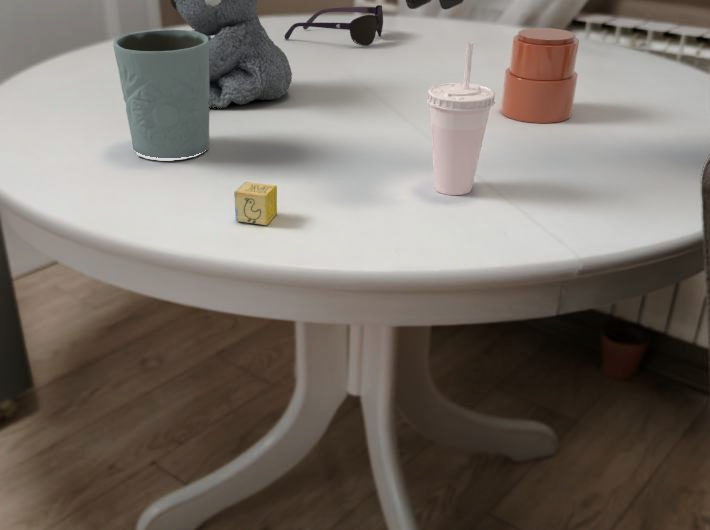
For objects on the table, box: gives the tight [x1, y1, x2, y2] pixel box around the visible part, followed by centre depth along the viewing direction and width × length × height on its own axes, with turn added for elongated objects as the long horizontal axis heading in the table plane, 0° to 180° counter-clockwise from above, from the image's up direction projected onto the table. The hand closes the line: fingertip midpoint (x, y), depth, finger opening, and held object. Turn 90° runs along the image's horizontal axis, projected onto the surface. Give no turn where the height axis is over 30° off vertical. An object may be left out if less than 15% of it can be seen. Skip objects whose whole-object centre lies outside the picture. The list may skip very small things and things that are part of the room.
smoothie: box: [426, 41, 496, 196], centre depth 78 cm, size 6×6×14 cm
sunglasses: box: [284, 4, 384, 47], centre depth 138 cm, size 14×16×5 cm
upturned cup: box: [500, 27, 580, 124], centre depth 100 cm, size 9×9×10 cm
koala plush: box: [169, 0, 293, 109], centre depth 105 cm, size 17×18×20 cm
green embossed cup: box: [112, 28, 210, 158], centre depth 88 cm, size 10×10×12 cm
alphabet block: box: [233, 181, 278, 226], centre depth 74 cm, size 3×3×3 cm
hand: (438, 6), depth 74 cm, fingers open, 8 cm apart
